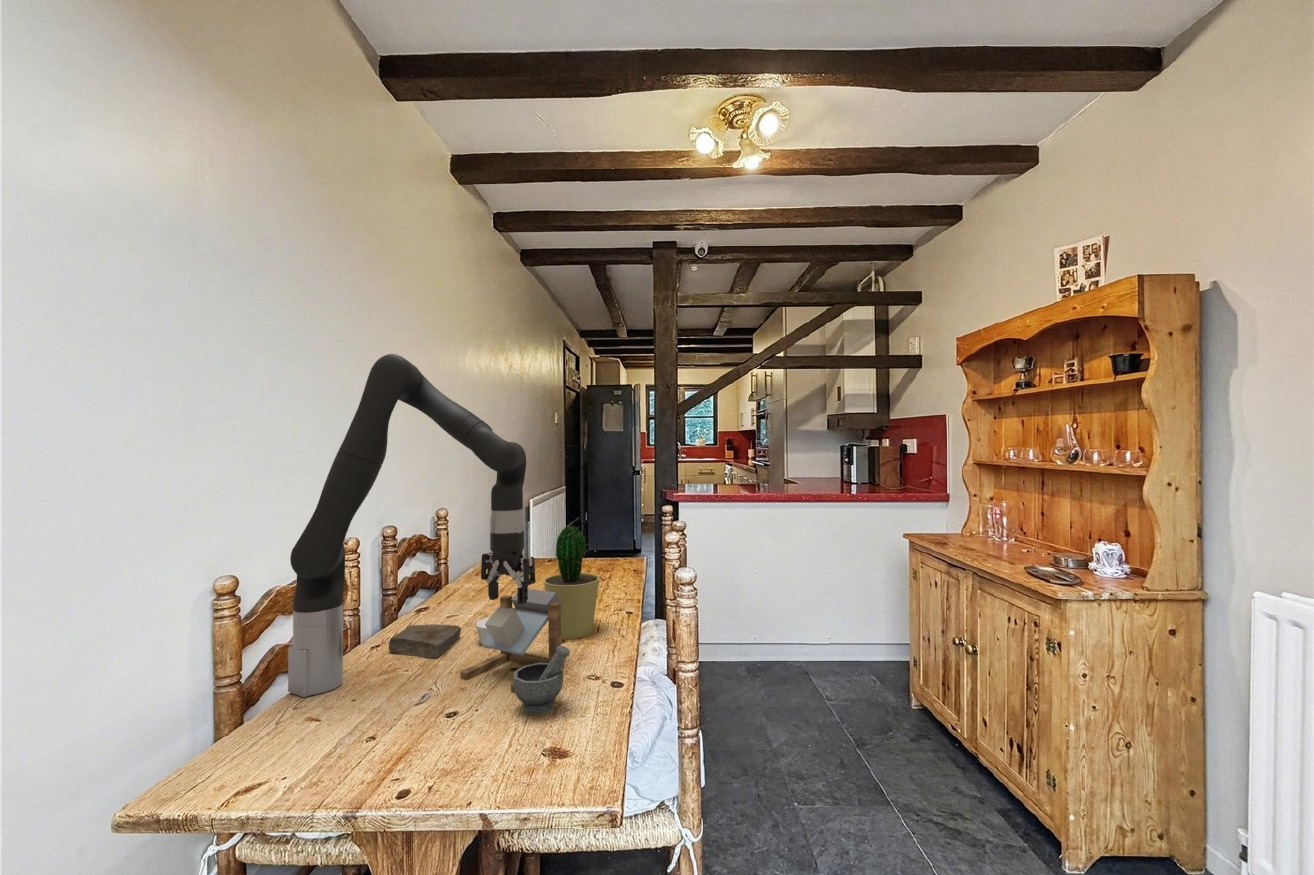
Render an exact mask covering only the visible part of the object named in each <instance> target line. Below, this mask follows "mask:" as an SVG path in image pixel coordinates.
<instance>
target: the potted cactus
mask: <svg viewBox="0 0 1314 875" xmlns="http://www.w3.org/2000/svg"><path fill="white" fill-rule="evenodd" d="M583 534H584V532H583V531H581V530H580V527H578V526H575V525H571V526H565V527H564V526H563V528H562V529H561V532H560V531H559V533H557V532H556V534H554V536H556V537H557V538H556V540H555V542H556V543H553V544H554V546H555V548H553V549H554V551H553V552H554V555H553V556H552V558H553V557H554V558H553V561H558V562H557V566H558V568H557V571H556V572H558V574H554V575H550V576H548V577H545V578H544V579H543V584H544V586H543V587H544V591H549V592H556V594H557V596H558V598H559V600H560V602H561V605H562V607H563V608H562V610H561V640H574V639H581V638H585V637H587V636H589V635H590V634H592V633H593V630H594V623H595V622H594V621H595V614H596V607H597V598H598V590H599V585H600V584H599V581H600V576H599V575H597V574H593V573H587V572H582V569H583V562H584V559H583V558H585V556H586V552H587V548H586V547H587V545H589V544H588V543H587V544H586V539H585V538H586V536H584V535H583Z"/></svg>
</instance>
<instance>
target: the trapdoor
mask: <svg viewBox="0 0 1314 875" xmlns="http://www.w3.org/2000/svg"><path fill="white" fill-rule="evenodd" d="M511 600H512V605H513V606H514V607H512V608H510V609H514V610H516V612H517V614H518V616H519V618H520V620H521V622H522V624H523V626H524V628H525V629H524V631H523V632H522V633H521V635H520V636H519V637H518V639H517V640H516V642H515V643H514V644H513V646H509V645H503V644H498V643H495V642H494V640H493V638H492V636H491V635H490V634H489V636H488V637H487V638H486V639H485V641H484V642H483V643H481V646H482V647H483V648H488V649H492V650H497V651H500V652H501V651H505V652H509V653H514V654H519V655H524V653H527V651H528V649H529V648H530V646H531V645H532V643H533V642H534V640H536V638H537V636H538V635H539V634H540V633H541V631H542V630H543V628H544V627H545V626H546V624H547V622H549V619H548V605H549V604H551V603H554V602H555V603H561V602H560V600H559V598H558V596H557V594H556V592H549V591H545V590H540V589H534V588H532V589H531V588H528V600H527V602H526V603H525V604H522V605H520V604H518V603H517V592H516V593H515V594H514V596H512V599H511ZM562 608H563V607H562V605H561V610H562Z"/></svg>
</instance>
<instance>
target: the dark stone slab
mask: <svg viewBox="0 0 1314 875" xmlns="http://www.w3.org/2000/svg"><path fill="white" fill-rule="evenodd" d="M461 632H462V628H461V626H460V625H454V624H453V625H451V624H437V623H436V624H413V625H412V624H411V625H408V626H407V627H405V628H404V629H403V630H402V631H400V632H397V633H396V634H395V635H393V636H392V637H391V638H390V639H389V642H388V650H389V651H390V652H391V653H393V654H395V655H399V656H410V657H411V656H412V657H416V658H423V659H438V658H440V657H441V656H442V655H444V654H445V653H446V652H447V651H448V650H449V649H451V647H452V646H453V645H455V643H456V642H457V641H459V640H460V638H461Z"/></svg>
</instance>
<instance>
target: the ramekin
mask: <svg viewBox="0 0 1314 875" xmlns="http://www.w3.org/2000/svg"><path fill="white" fill-rule="evenodd" d="M490 617H491V616H487V617H484V618H482V619H480V620H478V621H477V622H476V624H475V628H476V629H477V635H478V639H479V642H480V644H482V643H483V642H484V641H485V639H486V638H487V637H488V636H489V634H490V633H489V631H488V629H487V628H486V626H485V623H486V622H487V621H488V619H489V618H490Z"/></svg>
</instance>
